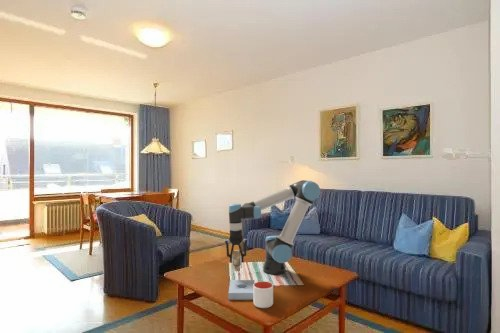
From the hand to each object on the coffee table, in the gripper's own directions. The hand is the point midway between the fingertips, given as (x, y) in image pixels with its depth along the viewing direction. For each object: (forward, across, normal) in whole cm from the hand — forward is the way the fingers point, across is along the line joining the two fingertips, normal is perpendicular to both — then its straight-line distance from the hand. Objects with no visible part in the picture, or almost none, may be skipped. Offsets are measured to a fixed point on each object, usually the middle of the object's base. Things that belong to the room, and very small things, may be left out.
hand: (237, 267), depth 189 cm
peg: (+2, 0, 0) cm, 2 cm away
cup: (+9, -14, +32) cm, 36 cm away
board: (+8, -3, +17) cm, 19 cm away
